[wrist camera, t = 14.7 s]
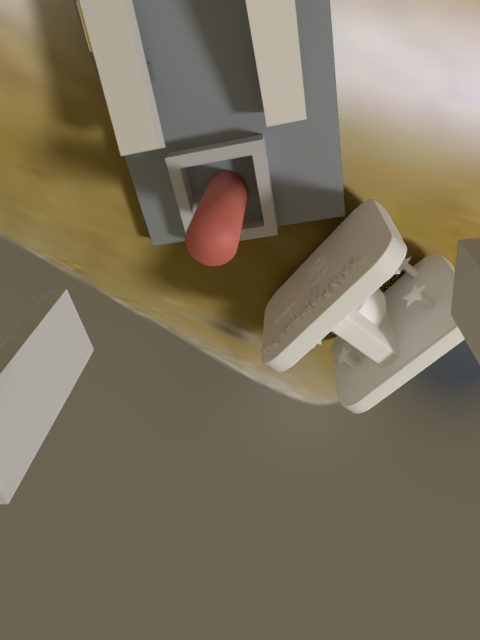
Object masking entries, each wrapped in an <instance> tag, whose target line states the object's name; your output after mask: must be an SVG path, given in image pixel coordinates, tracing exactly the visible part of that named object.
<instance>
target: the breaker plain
mask: <svg viewBox="0 0 480 640" xmlns="http://www.w3.org/2000/svg"><path fill="white" fill-rule="evenodd" d="M246 6H247V12H248V18H249V24H250V30H251V36H252V42H253V48H254V54H255V60H256V65H257V71H258V77H259V83H260V89H261V95H262V101H263V107H264V113H265V119H266V125H267V127H269V126H275V125H280V124H285V123H290V122H295V121H300V120H305V119H307V116H306V106H305V96H304V86H303V76H302V66H301V56H300V46H299V36H298V26H297V16H296V6H295V0H246Z"/></svg>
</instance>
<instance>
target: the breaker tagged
mask: <svg viewBox="0 0 480 640" xmlns="http://www.w3.org/2000/svg"><path fill="white" fill-rule="evenodd" d="M76 2H77V6H78V10H79V13H80V17H81V21H82V24H83V28H84V32H85V36H86V39H87V43H88V47H89V50H90V52H92V53H93V54H94V57H95V61H96V65H97V69H98V72H99V76H100V80H101V84H102V87H103V91H104V95H105V99H106V102H107V106H108V110H109V114H110V117H111V121H112V125H113V129H114V132H115V136H116V140H117V144H118V147H119V151H120V155H121V156H124V155H129V154H134V153H139V152H145V151H150V150H155V149H160V148H165V142H164V138H163V133H162V129H161V125H160V120H159V116H158V112H157V107H156V103H155V98H154V94H153V90H152V85H151V81H150V77H149V72H148V68H147V63H146V59H145V55H144V50H143V46H142V42H141V37H140V33H139V28H138V24H137V20H136V15H135V11H134V7H133V2H132V0H77V1H76Z"/></svg>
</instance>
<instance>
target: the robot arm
mask: <svg viewBox="0 0 480 640" xmlns="http://www.w3.org/2000/svg"><path fill="white" fill-rule="evenodd" d="M451 316H452V318H453V319H454V321H455V323H456V324H457V326H458V328H459V330H460V331H461V333H462V335H463V337H464V338H465V340H466V342H467V343H468V345H469V347H470V348H471V350H472V352H473V354H474V356H475V357H476V359H477V361H478V362H479V364H480V237H479V238H471V239H463V240H458V245H457V255H456V265H455V275H454V285H453V294H452V304H451ZM93 351H94V349H93V347H92V345H91V342H90V340H89V338H88V335H87V333H86V331H85V329H84V327H83V324H82V322H81V320H80V318H79V315H78V313H77V311H76V309H75V306H74V304H73V302H72V300H71V298H70V295H69V293H68V291H67V289H62V290H54V291H47V292H46V293H45V294H44V295H43V297H42V298H41V299H40V300H39V301H38V303H37V304H36V305H35V306H34V307H33V308H32V310H31V311H30V312H29V313H28V314H27V316H26V317H25V318H24V319H23V320H22V321H21V323H20V324H19V325H18V326H17V327H16V329H15V330H14V331H13V332H12V334H10V336H9V337H8V338H7V339H6V340H5V342H4V343H3V344H2V345H1V346H0V504H9V502H10V500H11V498H12V496H13V495H14V493H15V491H16V489H17V487H18V485H19V484H20V482H21V480H22V478H23V477H24V475H25V473H26V471H27V469H28V468H29V466H30V464H31V462H32V460H33V459H34V457H35V455H36V453H37V451H38V450H39V448H40V446H41V444H42V442H43V440H44V439H45V437H46V435H47V433H48V432H49V430H50V428H51V426H52V424H53V422H54V421H55V419H56V417H57V415H58V414H59V412H60V410H61V408H62V406H63V405H64V403H65V401H66V399H67V397H68V396H69V394H70V392H71V390H72V388H73V387H74V385H75V383H76V381H77V379H78V377H79V376H80V374H81V372H82V370H83V369H84V367H85V365H86V363H87V361H88V360H89V358H90V356H91V354H92V352H93Z"/></svg>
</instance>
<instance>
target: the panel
mask: <svg viewBox="0 0 480 640" xmlns="http://www.w3.org/2000/svg"><path fill="white" fill-rule="evenodd" d="M76 1H77V0H74V3H75V6H76V9H77V12H78V15H79V19H80V22H81V25H82V28H83V24H82V21H81V17H80V13H79V10H78V6H77V2H76ZM132 2H133V7H134V11H135V15H136V20H137V24H138V28H139V33H140V37H141V42H142V46H143V50H144V55H145V59H146V63H147V68H148V72H149V77H150V81H151V85H152V90H153V94H154V98H155V103H156V107H157V112H158V116H159V120H160V125H161V129H162V133H163V138H164V142H165V148H160V149H155V150H150V151H145V152H139V153H134V154H129V155H124V157H125V160H126V163H127V166H128V169H129V173H130V176H131V179H132V182H133V185H134V188H135V191H136V194H137V197H138V200H139V203H140V206H141V210H142V213H143V216H144V219H145V222H146V225H147V228H148V231H149V234H150V237H151V240H152V243H153V246H156V245H162V244H169V243H175V242H182V241H185V234H186V231H187V229H188V227H189V224H190V222H191V220H192V218H193V216H194V213H195V211H196V209H197V207H198V205H199V202H200V200H201V198H202V196H203V194H204V191H205V189H206V187H207V185H208V183H209V181H210V179H211V178H212V176H213V175H215V174H216V173H218V172H220V171H223V170H230V171H234V172H236V173H238V174H240V175H241V176H242V177H243V178H244V180H245V181H246V183H247V186H248V197H247V202H246V207H245V212H244V218H243V223H242V228H241V233H240V238H239V241H242V240H249V239H256V238H262V237H269V236H275V235H278V226H284V225H291V224H297V223H303V222H310V221H316V220H323V219H329V218H335V217H342V216H345V204H344V190H343V176H342V162H341V148H340V134H339V120H338V106H337V92H336V78H335V64H334V51H333V37H332V23H331V9H330V0H295V6H296V16H297V26H298V36H299V46H300V56H301V66H302V76H303V86H304V96H305V106H306V116H307V119H305V120H300V121H295V122H290V123H285V124H280V125H275V126H269V127H267V125H266V119H265V113H264V107H263V101H262V95H261V89H260V83H259V77H258V71H257V65H256V60H255V54H254V48H253V42H252V36H251V30H250V24H249V18H248V12H247V6H246V0H132ZM83 31H84V28H83ZM84 34H85V32H84ZM85 37H86V36H85ZM86 40H87V39H86ZM91 56H92V59H93V62H94V65H95V68H96V71H97V74H98V77H99V80H100V76H99V72H98V69H97V65H96V61H95V57H94V54H93V53H92V52H91ZM100 83H101V80H100ZM101 86H102V84H101ZM102 89H103V87H102ZM103 92H104V91H103ZM104 96H105V95H104Z"/></svg>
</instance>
